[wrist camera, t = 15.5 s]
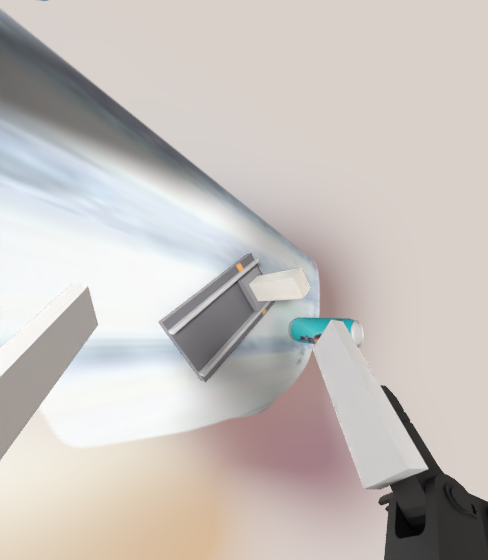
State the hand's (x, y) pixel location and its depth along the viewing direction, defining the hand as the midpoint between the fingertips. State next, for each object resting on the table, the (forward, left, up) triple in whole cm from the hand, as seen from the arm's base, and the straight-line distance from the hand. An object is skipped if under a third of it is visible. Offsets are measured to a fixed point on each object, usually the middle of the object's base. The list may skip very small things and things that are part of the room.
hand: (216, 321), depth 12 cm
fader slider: (-6, +21, -20) cm, 30 cm away
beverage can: (+2, +37, -22) cm, 43 cm away
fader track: (-2, +16, -22) cm, 27 cm away
